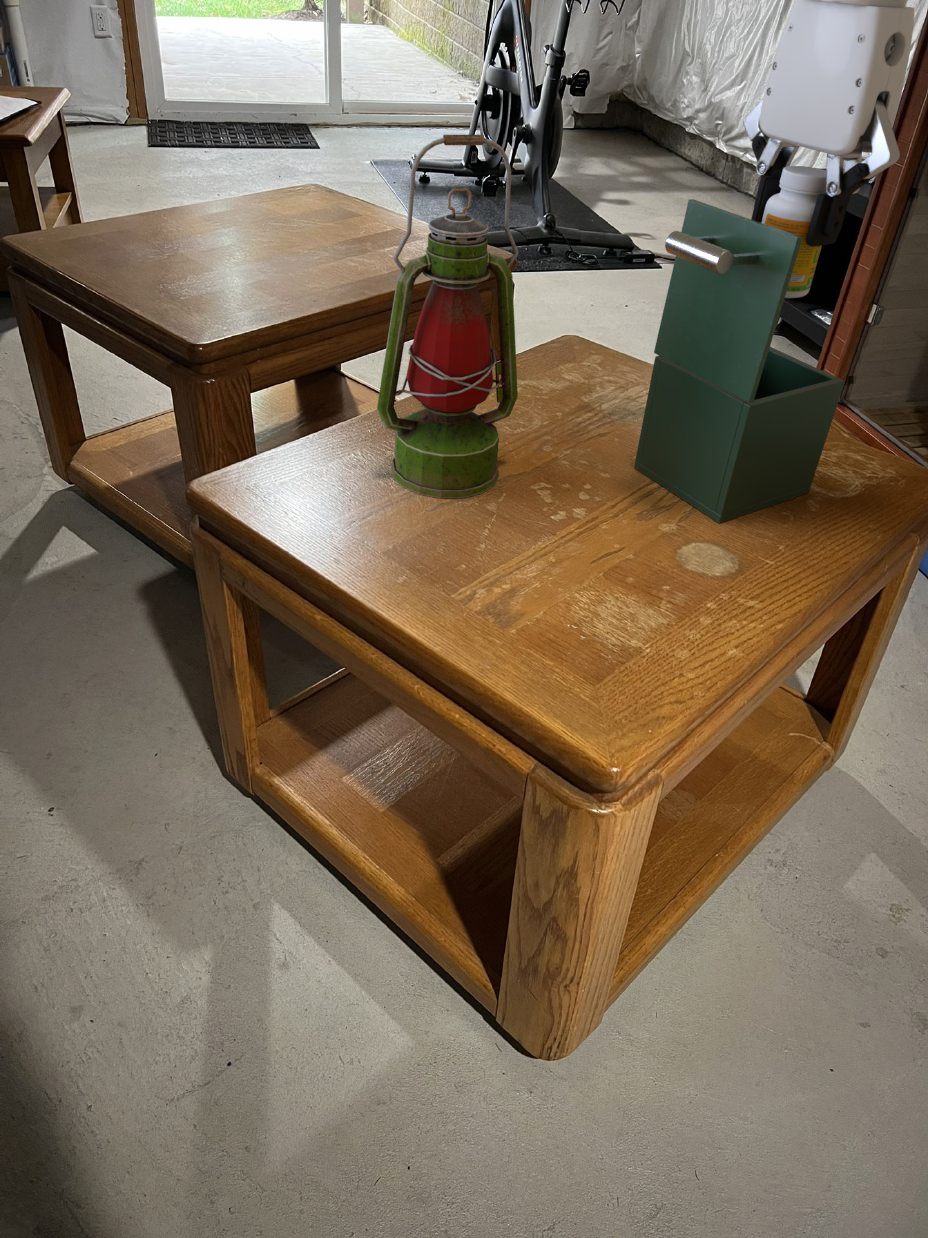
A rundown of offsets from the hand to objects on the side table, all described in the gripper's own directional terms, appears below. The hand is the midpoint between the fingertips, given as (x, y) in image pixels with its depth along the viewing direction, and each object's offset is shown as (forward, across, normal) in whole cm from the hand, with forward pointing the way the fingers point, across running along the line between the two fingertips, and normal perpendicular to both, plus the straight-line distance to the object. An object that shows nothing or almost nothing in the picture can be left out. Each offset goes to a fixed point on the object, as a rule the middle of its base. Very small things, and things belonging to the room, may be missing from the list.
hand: (792, 231), depth 80 cm
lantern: (+24, +14, +25) cm, 37 cm away
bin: (+24, 0, +1) cm, 24 cm away
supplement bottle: (+5, 0, 0) cm, 5 cm away
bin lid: (+5, 0, +7) cm, 8 cm away
